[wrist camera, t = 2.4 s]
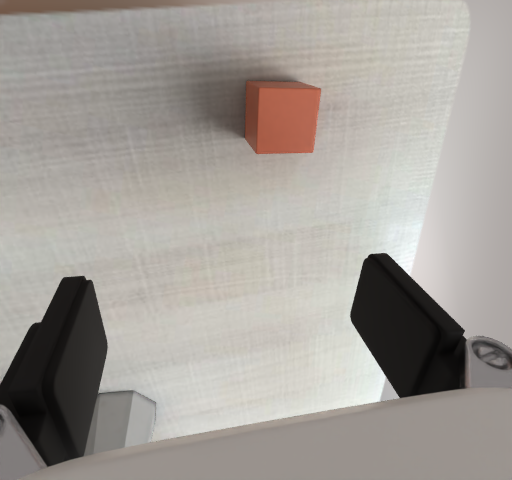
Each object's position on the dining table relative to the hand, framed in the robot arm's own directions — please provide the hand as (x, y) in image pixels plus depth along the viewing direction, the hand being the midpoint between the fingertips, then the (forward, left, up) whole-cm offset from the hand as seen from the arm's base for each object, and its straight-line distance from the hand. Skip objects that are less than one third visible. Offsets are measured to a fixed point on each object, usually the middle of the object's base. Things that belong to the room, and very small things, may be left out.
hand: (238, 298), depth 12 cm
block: (+5, +4, -16) cm, 17 cm away
